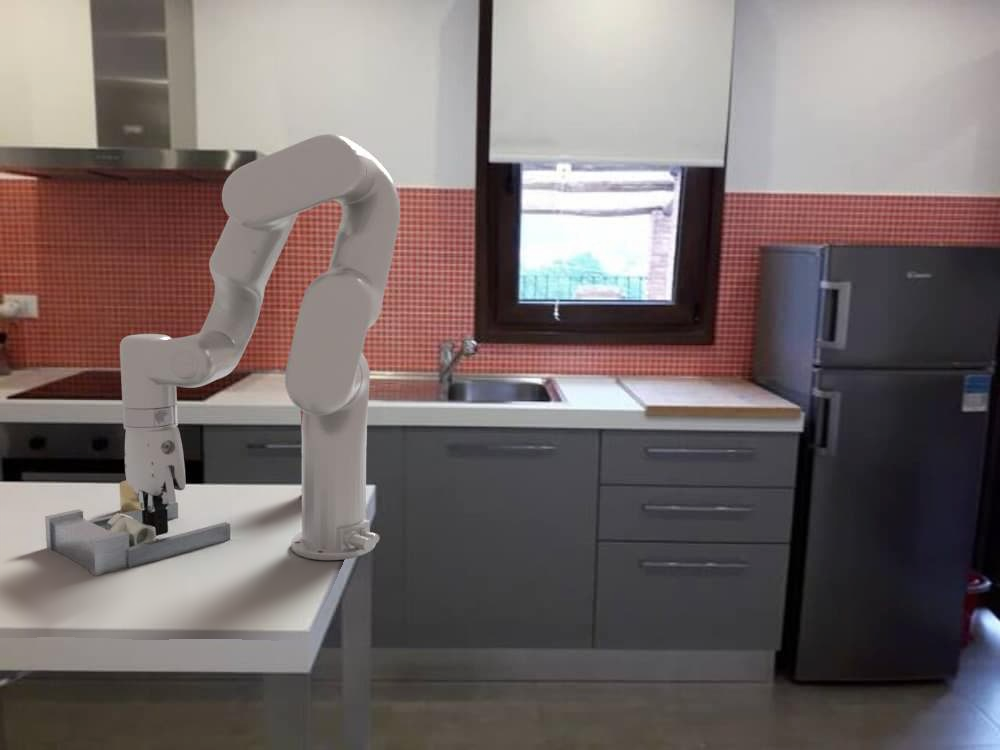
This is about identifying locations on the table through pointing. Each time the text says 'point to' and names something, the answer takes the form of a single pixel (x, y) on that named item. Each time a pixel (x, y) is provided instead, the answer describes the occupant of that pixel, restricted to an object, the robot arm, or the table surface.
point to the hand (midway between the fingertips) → (155, 533)
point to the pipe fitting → (132, 529)
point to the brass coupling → (128, 498)
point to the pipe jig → (120, 541)
